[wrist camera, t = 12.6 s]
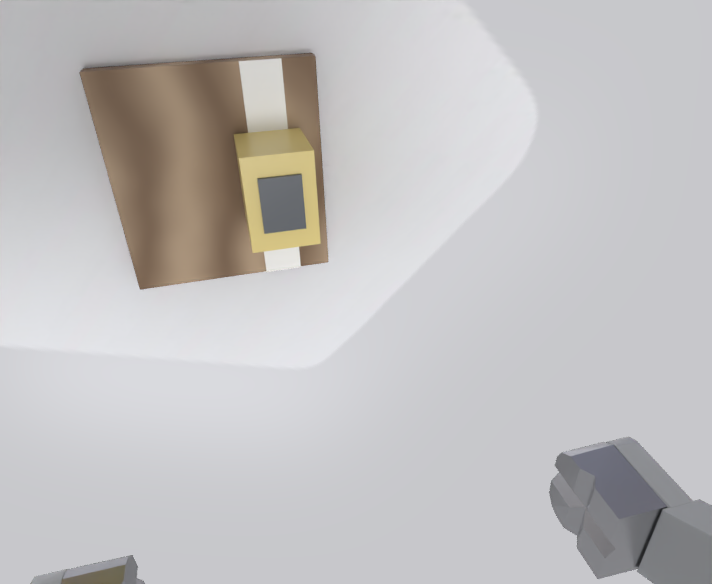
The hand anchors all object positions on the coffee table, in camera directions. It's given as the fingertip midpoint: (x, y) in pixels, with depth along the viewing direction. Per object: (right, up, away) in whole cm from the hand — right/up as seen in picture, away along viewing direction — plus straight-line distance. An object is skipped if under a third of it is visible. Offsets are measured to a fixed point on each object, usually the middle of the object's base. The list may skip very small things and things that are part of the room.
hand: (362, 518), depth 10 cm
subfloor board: (-11, +14, +33) cm, 38 cm away
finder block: (-7, +13, +33) cm, 36 cm away
